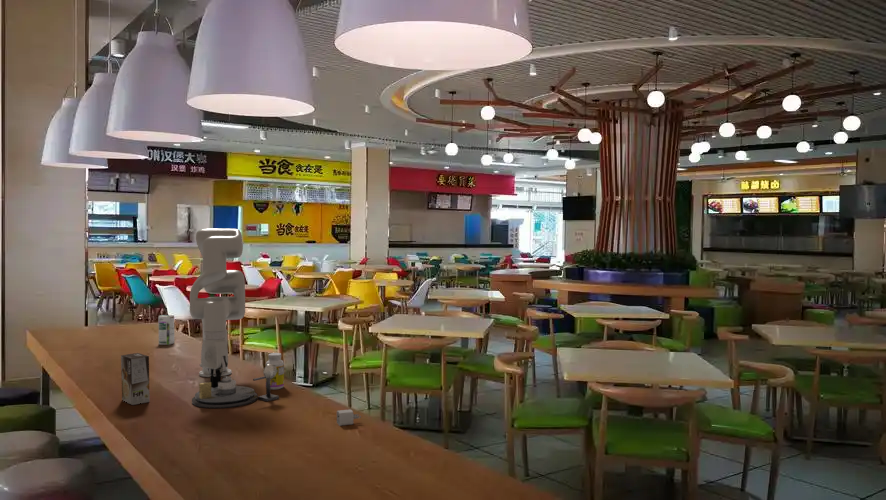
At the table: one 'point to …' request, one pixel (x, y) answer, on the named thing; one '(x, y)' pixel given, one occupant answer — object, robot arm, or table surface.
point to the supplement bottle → (278, 379)
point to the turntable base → (227, 405)
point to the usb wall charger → (346, 417)
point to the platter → (212, 396)
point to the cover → (226, 386)
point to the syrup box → (166, 329)
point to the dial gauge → (268, 382)
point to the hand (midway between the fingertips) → (215, 386)
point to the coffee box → (135, 378)
